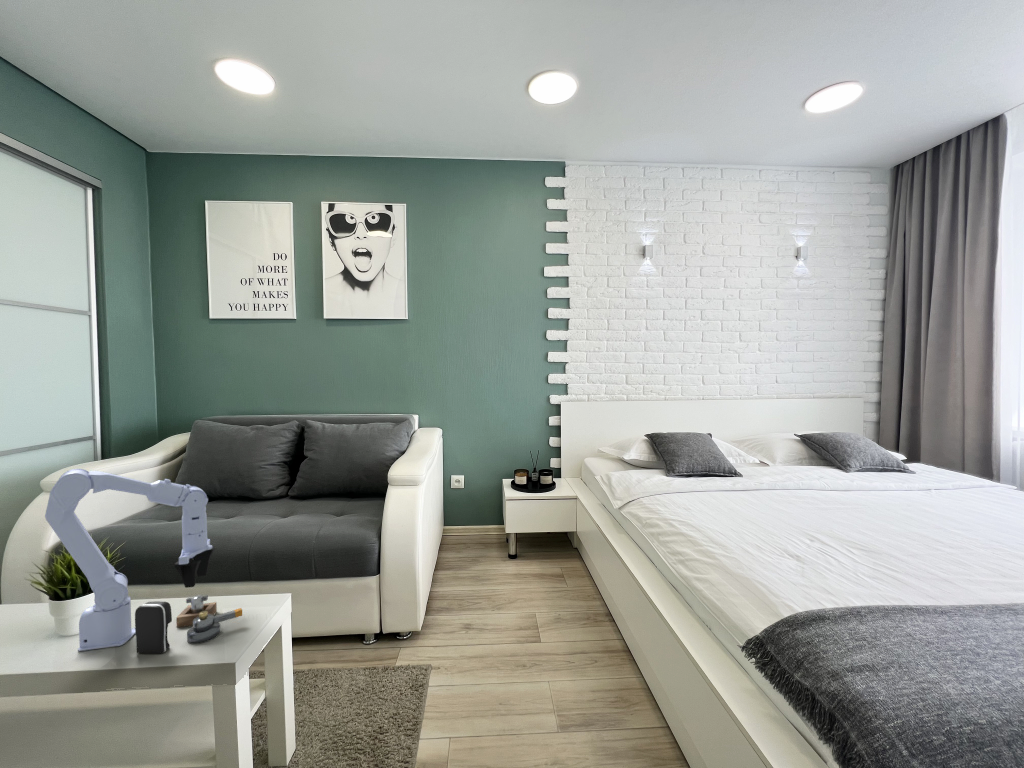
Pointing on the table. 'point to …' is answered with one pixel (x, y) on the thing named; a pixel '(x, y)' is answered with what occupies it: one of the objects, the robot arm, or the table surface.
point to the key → (197, 603)
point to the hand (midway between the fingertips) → (196, 581)
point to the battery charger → (152, 627)
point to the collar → (214, 620)
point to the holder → (187, 618)
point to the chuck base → (203, 632)
